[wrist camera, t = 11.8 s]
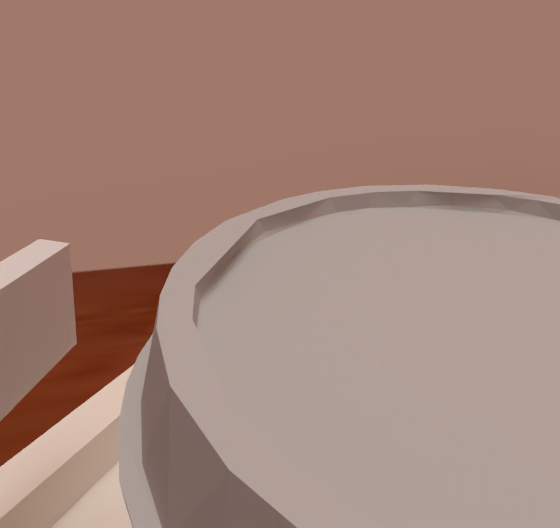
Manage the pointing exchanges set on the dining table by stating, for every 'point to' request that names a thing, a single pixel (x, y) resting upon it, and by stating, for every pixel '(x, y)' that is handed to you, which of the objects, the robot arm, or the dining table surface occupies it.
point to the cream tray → (70, 470)
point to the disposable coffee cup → (355, 367)
